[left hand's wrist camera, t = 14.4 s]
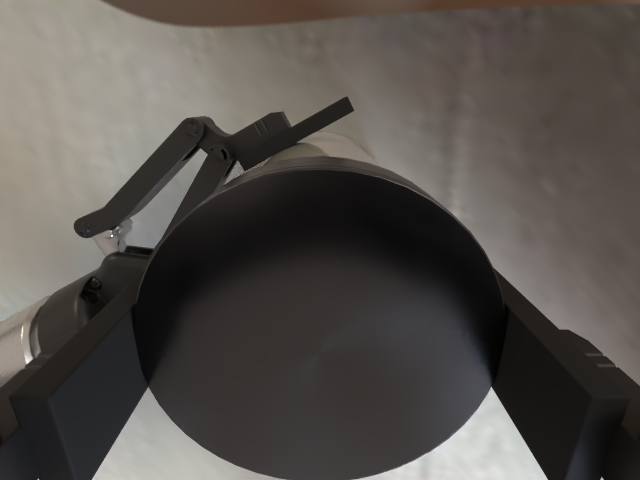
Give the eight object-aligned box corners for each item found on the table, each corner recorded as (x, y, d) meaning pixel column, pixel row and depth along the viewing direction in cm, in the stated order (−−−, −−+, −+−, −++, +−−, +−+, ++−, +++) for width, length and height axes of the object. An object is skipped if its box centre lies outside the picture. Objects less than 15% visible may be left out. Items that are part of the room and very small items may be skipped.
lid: (142, 151, 10) (100, 163, 8) (503, 159, 10) (546, 172, 8) (182, 426, 14) (159, 480, 12) (451, 431, 14) (472, 485, 12)
